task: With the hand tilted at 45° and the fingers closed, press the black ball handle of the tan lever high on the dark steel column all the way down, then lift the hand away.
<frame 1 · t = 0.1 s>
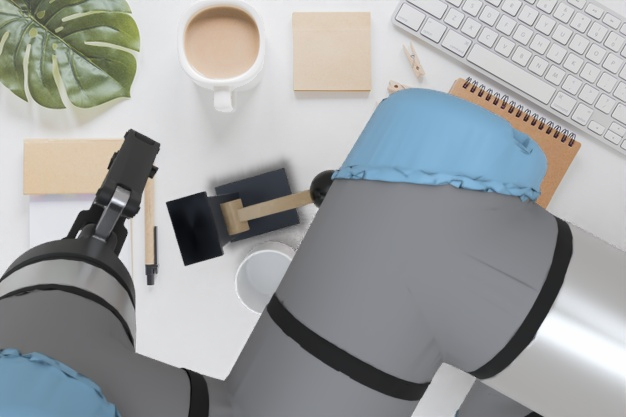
hand: (92, 229, 49), 28 cm above the table, tool tilted 20°, fingers open, 13 cm apart
pill bottle: (419, 232, 78), on the table
footplate: (258, 205, 77), on the table
lever: (284, 203, 49), point 28 cm above the table, hinge at 25.0°
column: (217, 218, 62), on the footplate, point 15 cm above the table
mug: (285, 273, 78), on the table
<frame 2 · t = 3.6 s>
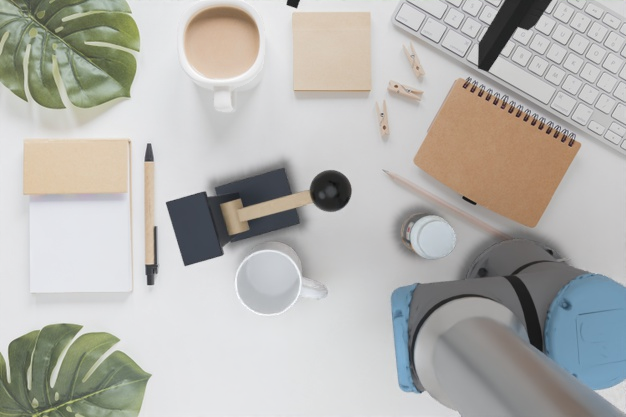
hand: (390, 27, 37), 39 cm above the table, tool tilted 40°, fingers open, 13 cm apart
nothing on the table moved.
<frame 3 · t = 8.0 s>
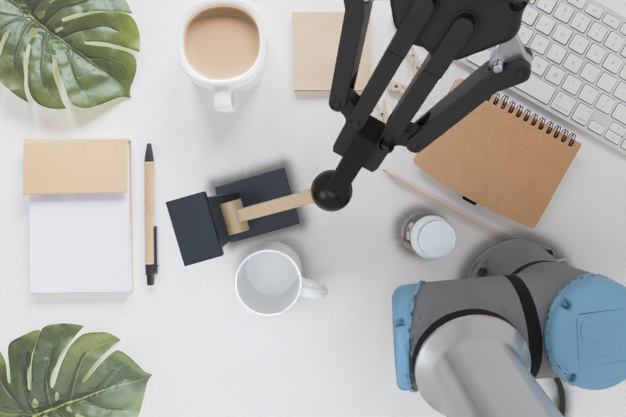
hand: (338, 183, 45), 32 cm above the table, tool tilted 45°, fingers closed
lever: (285, 203, 49), point 28 cm above the table, hinge at 23.6°, touching gripper
everything else where it was.
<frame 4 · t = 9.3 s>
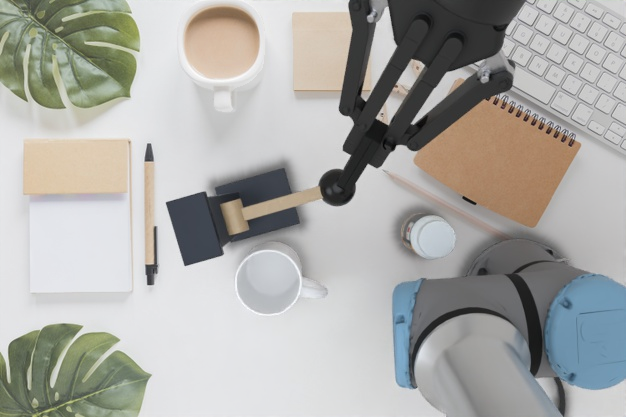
hand: (347, 178, 50), 27 cm above the table, tool tilted 45°, fingers closed
lever: (290, 200, 51), point 25 cm above the table, hinge at -5.6°, touching gripper
everything else where it was.
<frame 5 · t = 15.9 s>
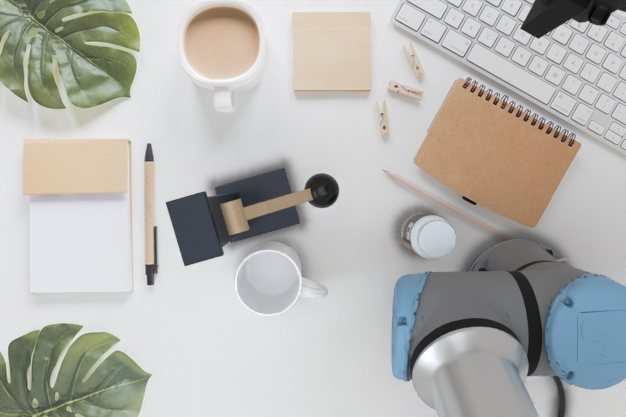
hand: (538, 16, 38), 38 cm above the table, tool pointing down, fingers closed
lever: (283, 202, 54), point 23 cm above the table, hinge at -30.7°
everything else where it was.
at the end: lever at -31° (first picture: +25°); lever 0.0 cm off-centre on the footplate, point 23.2 cm above the footplate's base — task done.
